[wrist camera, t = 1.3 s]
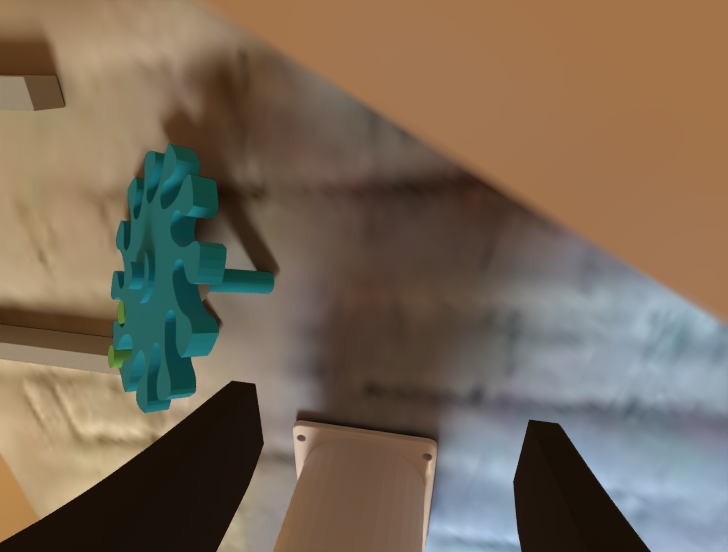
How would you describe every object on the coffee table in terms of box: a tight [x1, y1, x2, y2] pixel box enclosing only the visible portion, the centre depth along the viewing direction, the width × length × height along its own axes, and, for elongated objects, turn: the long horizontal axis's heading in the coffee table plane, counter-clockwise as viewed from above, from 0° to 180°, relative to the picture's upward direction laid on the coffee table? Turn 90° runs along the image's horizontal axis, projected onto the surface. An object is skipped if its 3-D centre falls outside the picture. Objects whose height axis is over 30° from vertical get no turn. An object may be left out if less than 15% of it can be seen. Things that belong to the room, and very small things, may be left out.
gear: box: [108, 144, 274, 413], centre depth 18 cm, size 11×6×10 cm
